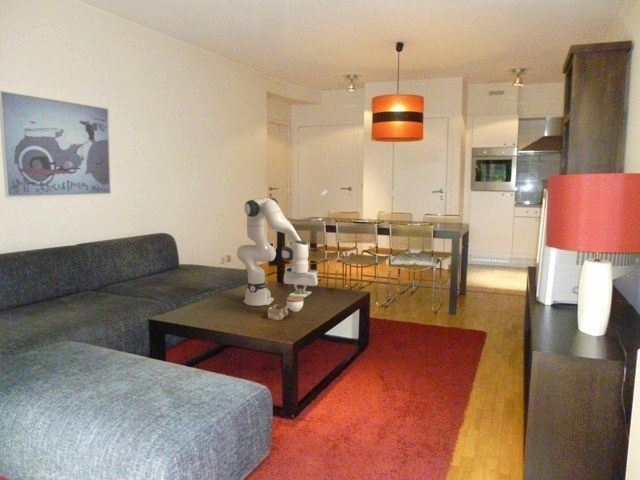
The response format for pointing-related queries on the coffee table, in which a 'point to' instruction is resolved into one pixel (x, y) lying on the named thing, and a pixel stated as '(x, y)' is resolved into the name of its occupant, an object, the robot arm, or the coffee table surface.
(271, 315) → the box
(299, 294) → the lid
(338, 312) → the coffee table surface
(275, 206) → the robot arm
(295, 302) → the lidded jar
